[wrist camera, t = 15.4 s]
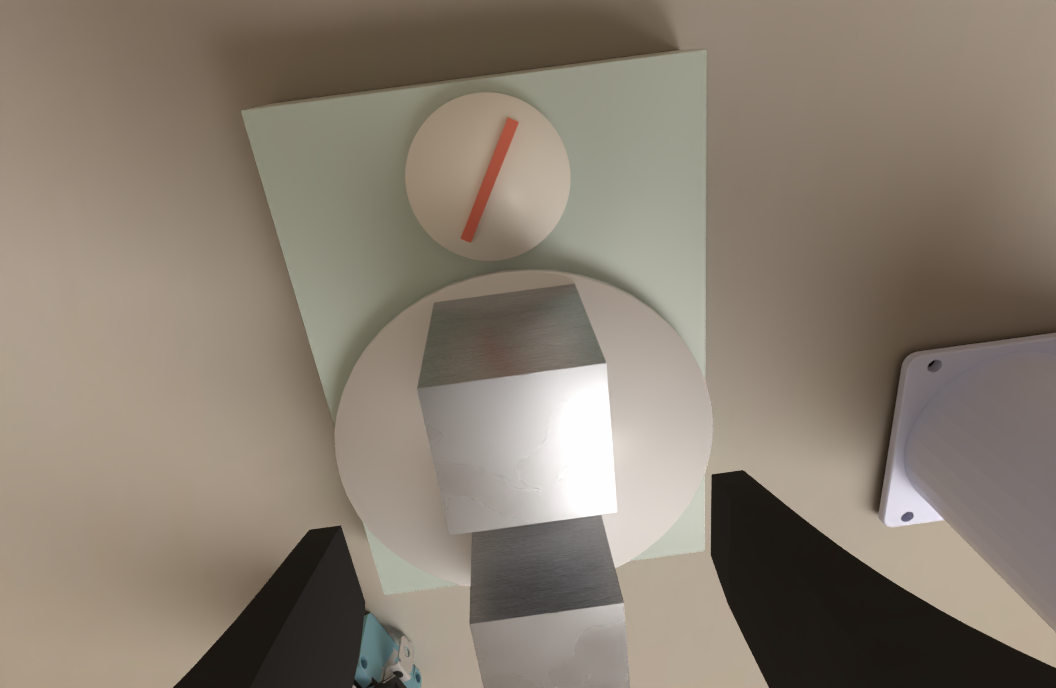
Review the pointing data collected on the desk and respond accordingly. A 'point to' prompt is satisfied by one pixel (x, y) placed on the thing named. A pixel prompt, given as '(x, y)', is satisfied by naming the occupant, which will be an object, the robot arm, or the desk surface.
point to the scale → (502, 273)
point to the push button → (384, 660)
